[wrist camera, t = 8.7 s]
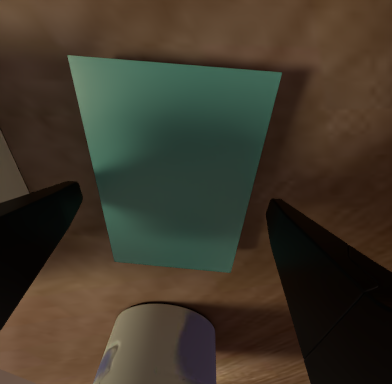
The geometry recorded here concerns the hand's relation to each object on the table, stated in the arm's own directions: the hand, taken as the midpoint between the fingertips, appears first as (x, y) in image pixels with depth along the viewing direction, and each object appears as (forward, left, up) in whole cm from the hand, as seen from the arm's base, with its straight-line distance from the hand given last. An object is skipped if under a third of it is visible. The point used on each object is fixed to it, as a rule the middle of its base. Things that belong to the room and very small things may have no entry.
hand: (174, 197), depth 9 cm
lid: (0, 0, -1) cm, 1 cm away
